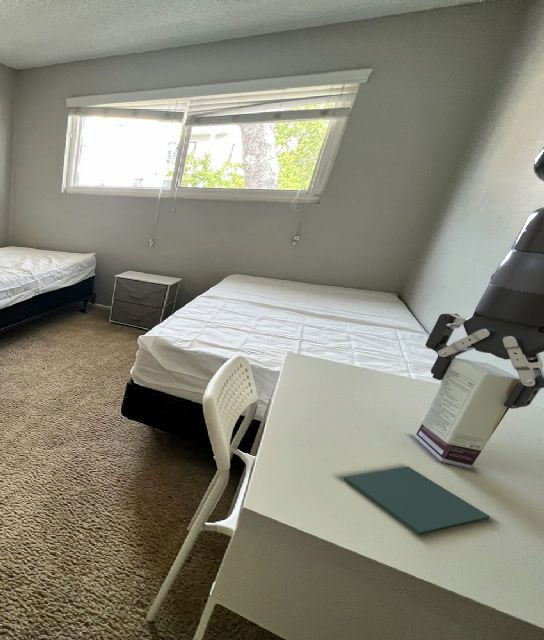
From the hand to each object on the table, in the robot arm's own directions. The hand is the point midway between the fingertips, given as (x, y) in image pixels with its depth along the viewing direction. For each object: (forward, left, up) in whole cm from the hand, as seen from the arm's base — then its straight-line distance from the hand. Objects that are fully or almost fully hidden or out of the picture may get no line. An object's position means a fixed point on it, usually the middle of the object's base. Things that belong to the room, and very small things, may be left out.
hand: (472, 391), depth 53 cm
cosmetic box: (0, 0, -8) cm, 8 cm away
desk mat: (0, 0, -21) cm, 21 cm away
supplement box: (-22, -8, -21) cm, 31 cm away
